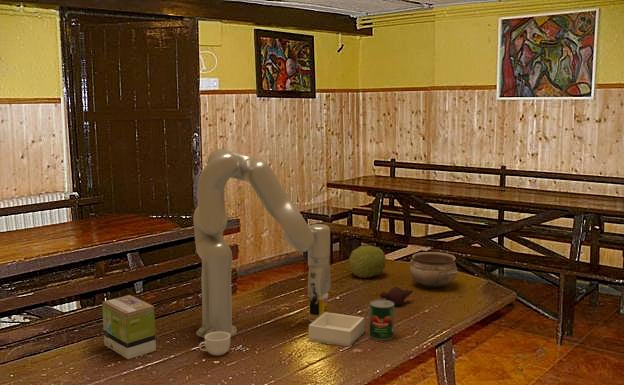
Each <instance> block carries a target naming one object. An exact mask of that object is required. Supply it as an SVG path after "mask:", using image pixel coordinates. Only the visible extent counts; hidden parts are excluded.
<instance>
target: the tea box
mask: <svg viewBox="0 0 624 385" xmlns="http://www.w3.org/2000/svg"><path fill="white" fill-rule="evenodd" d="M101 303H102V304H101V305H102V309H101V310H102V322H103V323H102V326H103V339H104V340H103V342H104V346H105V347H107V348H108V349H111V350H112V351H114V352H116V353H117V354H119V355H120V356H121V357H123V358H125V359H127V360H131V359H134V358H137V357H140V356H143V355H147V354H149V353H153V352H156V350H157V346H156V345H157V342H156V321H155V319H156V318H155V316H156V315H155V314H156V313H155V306H154V305H152V304H150V303H148V302H147V301H144V300H141V299H139V298H137V297H135V296H133V295H131V294H127V295H124V296H120V297H117V298H112V299H109V300H105V301H102V302H101Z"/></svg>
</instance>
